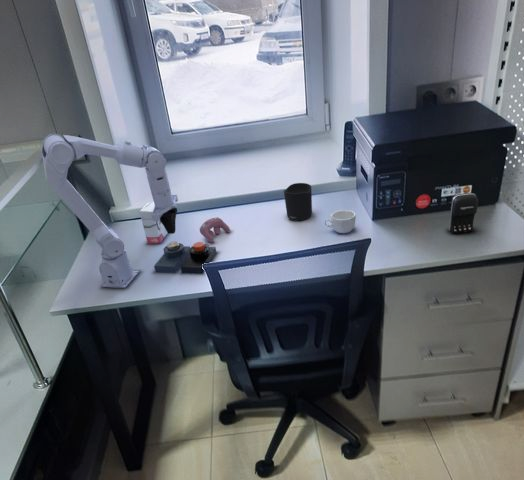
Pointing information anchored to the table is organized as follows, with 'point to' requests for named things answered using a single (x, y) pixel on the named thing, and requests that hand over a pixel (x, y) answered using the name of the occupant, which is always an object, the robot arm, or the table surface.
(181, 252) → the left box
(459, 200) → the battery charger
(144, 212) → the ink box
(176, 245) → the left button
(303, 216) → the pen holder
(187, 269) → the right box
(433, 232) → the table surface
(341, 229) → the teacup
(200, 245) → the right button
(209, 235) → the pink curved piece
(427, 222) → the table surface
